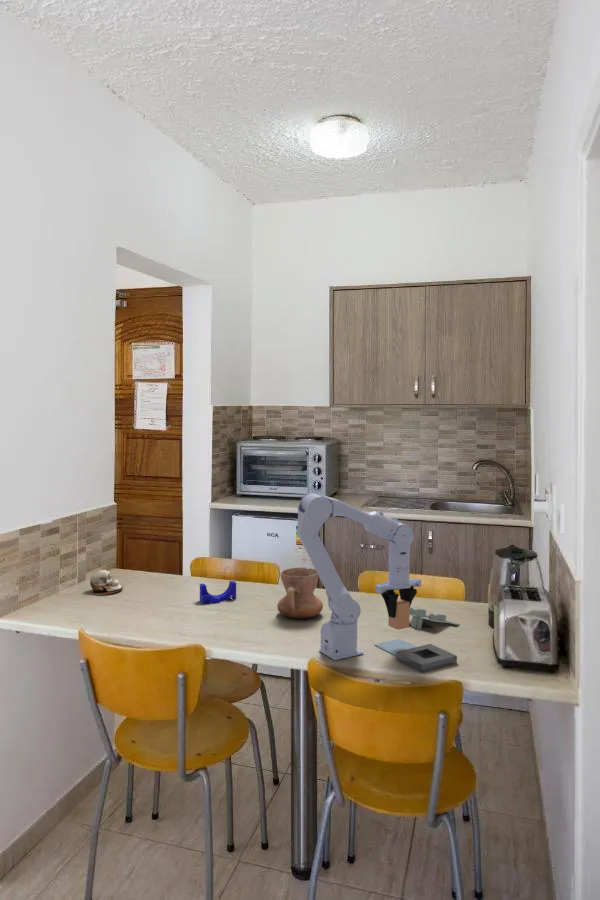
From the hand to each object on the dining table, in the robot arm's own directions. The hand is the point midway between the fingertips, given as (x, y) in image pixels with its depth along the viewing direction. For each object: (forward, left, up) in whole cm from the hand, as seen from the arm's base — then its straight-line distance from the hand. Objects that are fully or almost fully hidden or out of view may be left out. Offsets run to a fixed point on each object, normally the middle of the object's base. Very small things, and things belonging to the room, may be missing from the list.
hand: (398, 615), depth 180 cm
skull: (-55, +96, -9) cm, 111 cm away
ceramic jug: (-9, +38, -9) cm, 40 cm away
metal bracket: (+21, +11, -10) cm, 26 cm away
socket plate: (0, -11, -9) cm, 15 cm away
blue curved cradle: (-25, +65, -9) cm, 70 cm away
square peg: (0, 0, -3) cm, 3 cm away
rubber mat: (0, 0, -9) cm, 9 cm away
